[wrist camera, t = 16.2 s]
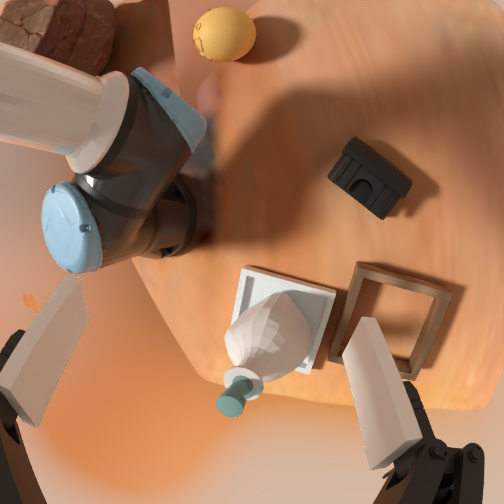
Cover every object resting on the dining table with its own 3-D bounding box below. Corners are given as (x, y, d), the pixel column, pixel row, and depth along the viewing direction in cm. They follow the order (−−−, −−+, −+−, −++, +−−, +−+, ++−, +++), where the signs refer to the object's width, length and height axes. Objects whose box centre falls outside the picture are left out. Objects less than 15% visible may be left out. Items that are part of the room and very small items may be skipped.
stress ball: (270, 38, 42) (240, -6, 36) (263, 51, 36) (226, -3, 30) (221, 62, 47) (191, 21, 41) (207, 80, 41) (170, 32, 35)
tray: (230, 343, 53) (226, 348, 51) (245, 265, 50) (241, 267, 48) (310, 368, 50) (309, 374, 48) (336, 290, 46) (336, 294, 44)
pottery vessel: (86, 132, 55) (-34, 120, 27) (51, 79, 57) (-41, 62, 29) (160, 36, 47) (50, -29, 18) (110, 0, 48) (24, -44, 20)
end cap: (407, 181, 40) (417, 179, 34) (380, 219, 42) (386, 223, 36) (353, 140, 41) (355, 131, 35) (327, 177, 44) (324, 174, 37)
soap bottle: (319, 331, 47) (294, 426, 26) (271, 356, 51) (223, 448, 29) (285, 283, 48) (235, 353, 26) (239, 312, 51) (169, 386, 29)
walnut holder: (328, 348, 48) (327, 360, 44) (356, 261, 44) (357, 267, 41) (410, 368, 44) (414, 381, 41) (445, 285, 41) (452, 293, 37)
